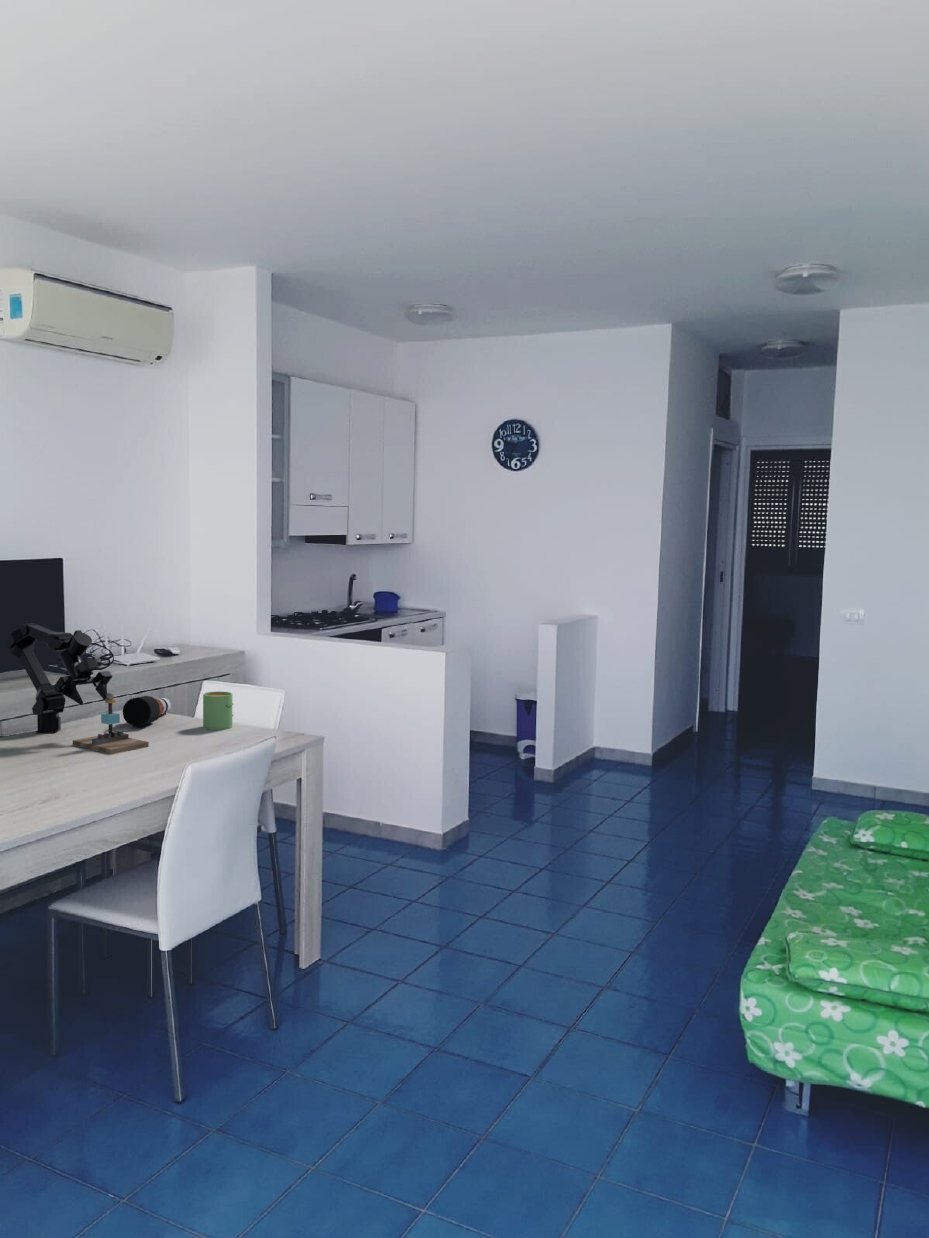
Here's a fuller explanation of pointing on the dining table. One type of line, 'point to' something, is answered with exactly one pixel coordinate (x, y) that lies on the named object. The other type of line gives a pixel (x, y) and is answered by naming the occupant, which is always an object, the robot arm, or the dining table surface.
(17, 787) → the dining table surface
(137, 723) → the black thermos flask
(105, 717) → the sleeve
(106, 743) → the wooden base post stand
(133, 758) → the dining table surface
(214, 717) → the mug
